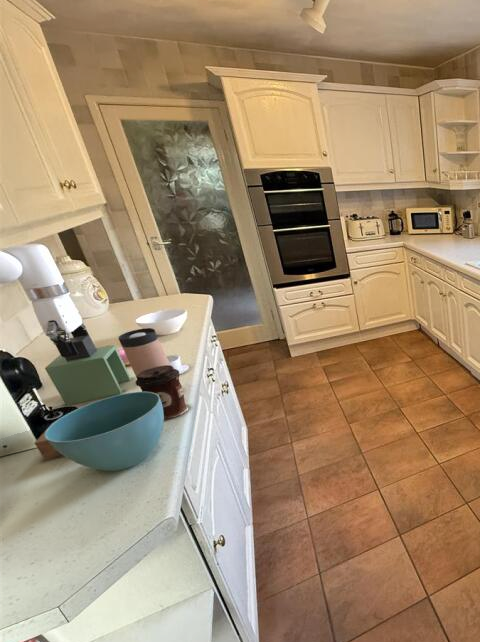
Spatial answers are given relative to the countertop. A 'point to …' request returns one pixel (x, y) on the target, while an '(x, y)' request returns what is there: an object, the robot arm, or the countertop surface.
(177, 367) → the teacup
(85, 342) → the black block
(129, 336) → the travel mug
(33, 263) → the robot arm
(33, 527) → the countertop surface
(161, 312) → the bowl
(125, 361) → the doughnut
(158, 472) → the countertop surface
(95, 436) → the blue dish
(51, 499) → the countertop surface
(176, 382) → the coffee cup
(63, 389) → the high shelf
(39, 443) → the low shelf
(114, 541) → the countertop surface
